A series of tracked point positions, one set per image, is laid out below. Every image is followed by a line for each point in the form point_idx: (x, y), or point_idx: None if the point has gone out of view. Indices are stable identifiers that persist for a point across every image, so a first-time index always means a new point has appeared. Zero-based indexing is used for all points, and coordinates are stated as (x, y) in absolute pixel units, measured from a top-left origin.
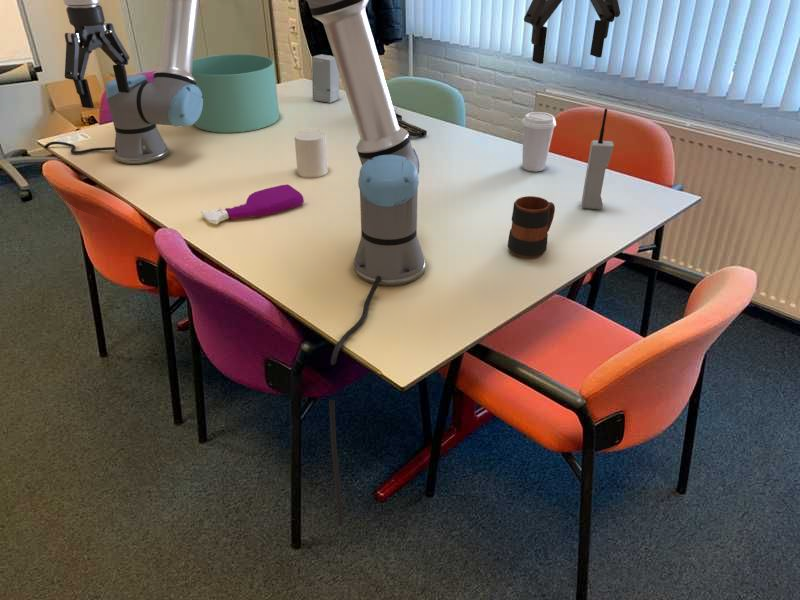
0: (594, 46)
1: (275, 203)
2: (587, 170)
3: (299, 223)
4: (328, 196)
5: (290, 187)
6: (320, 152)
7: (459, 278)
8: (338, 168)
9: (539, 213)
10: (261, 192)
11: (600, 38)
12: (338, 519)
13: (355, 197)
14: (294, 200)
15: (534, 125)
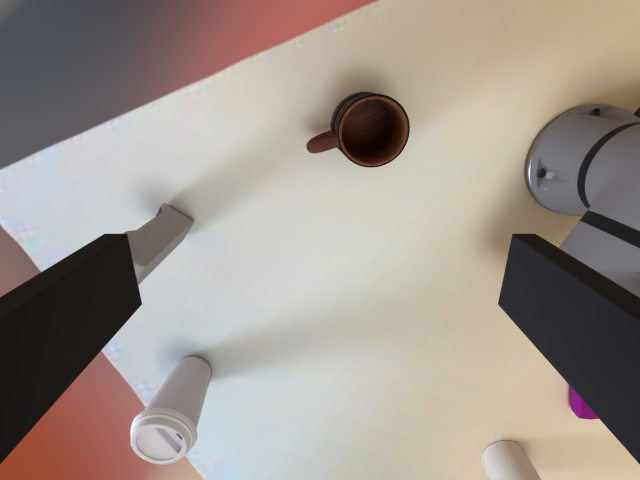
0: (108, 305)
1: None
2: (164, 253)
3: None
4: (524, 385)
5: (584, 409)
6: (515, 475)
7: (506, 89)
8: (464, 454)
9: (380, 94)
10: None
11: (55, 292)
12: None
13: (493, 371)
14: None
15: (183, 421)
